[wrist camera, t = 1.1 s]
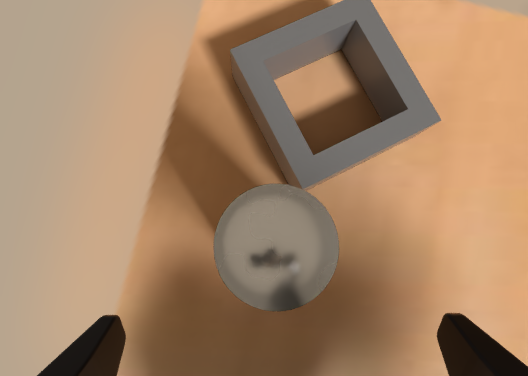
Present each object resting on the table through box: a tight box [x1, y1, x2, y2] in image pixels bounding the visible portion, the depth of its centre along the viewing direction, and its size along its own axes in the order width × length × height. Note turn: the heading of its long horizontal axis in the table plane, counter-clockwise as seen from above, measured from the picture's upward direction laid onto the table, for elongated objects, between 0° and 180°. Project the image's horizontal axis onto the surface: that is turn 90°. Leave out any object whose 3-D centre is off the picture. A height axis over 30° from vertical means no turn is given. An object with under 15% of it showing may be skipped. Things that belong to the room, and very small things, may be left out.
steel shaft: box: [214, 184, 339, 311], centre depth 18 cm, size 5×5×10 cm
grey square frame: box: [230, 0, 441, 191], centre depth 23 cm, size 10×10×4 cm
